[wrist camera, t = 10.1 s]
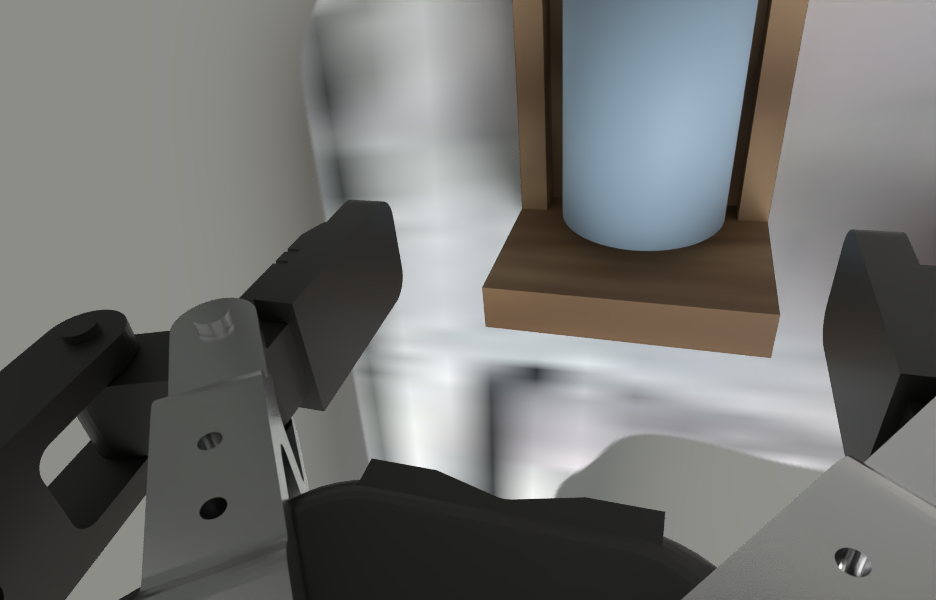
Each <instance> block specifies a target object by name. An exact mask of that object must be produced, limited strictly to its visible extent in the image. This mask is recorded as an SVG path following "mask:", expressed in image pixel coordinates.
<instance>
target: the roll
mask: <svg viewBox="0 0 936 600" xmlns="http://www.w3.org/2000/svg"><path fill="white" fill-rule="evenodd" d="M757 6H758V0H563V218H564V221H565V222H566V224H567V225H568V227H569V228H570V229H571V230H573V231H574V232H575V233H577V234H578V235H580V236H582V237H583V238H585V239H588V240H590V241H592V242H595V243H598V244H601V245H605V246H609V247H613V248H619V249H626V250H635V251H661V250H671V249H677V248H682V247H687V246H691V245H694V244H697V243H699V242H702V241H704V240H706V239H708V238H710V237H711V236H713V235H714V234H715V233H717V232H718V231H719V230H720V228H721V227H722V226H723V223H724V220H725V214H726V207H727V201H728V194H729V188H730V181H731V175H732V168H733V162H734V155H735V149H736V142H737V136H738V129H739V123H740V116H741V110H742V103H743V97H744V90H745V84H746V77H747V71H748V64H749V58H750V51H751V45H752V38H753V32H754V25H755V19H756V12H757Z"/></svg>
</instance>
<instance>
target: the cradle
mask: <svg viewBox="0 0 936 600" xmlns="http://www.w3.org/2000/svg"><path fill="white" fill-rule="evenodd" d="M808 1H809V0H758V6H757V12H756V19H755V25H754V32H753V38H752V45H751V51H750V58H749V64H748V71H747V77H746V84H745V90H744V97H743V103H742V110H741V116H740V123H739V129H738V136H737V142H736V149H735V155H734V162H733V168H732V175H731V181H730V188H729V194H728V201H727V207H726V214H725V220H724V223H723V226H722V227H721V228H720V230H719V231H718V232H717V233H715V234H714V235H713V236H711V237H710V238H708V239H706V240H704V241H702V242H699V243H697V244H694V245H691V246H687V247H682V248H677V249H671V250H661V251H635V250H626V249H619V248H613V247H609V246H605V245H601V244H598V243H595V242H592V241H590V240H588V239H585V238H583V237H582V236H580V235H578V234H577V233H575V232H574V231H573V230H571V229H570V228H569V227H568V225H567V224H566V222H565V221H564V218H563V0H513V19H514V41H515V62H516V84H517V105H518V127H519V149H520V170H521V192H522V210H521V212H520V214H519V216H518V218H517V220H516V222H515V224H514V226H513V228H512V230H511V232H510V234H509V236H508V238H507V240H506V242H505V244H504V246H503V248H502V250H501V252H500V254H499V256H498V257H497V259H496V261H495V263H494V265H493V267H492V269H491V271H490V273H489V275H488V277H487V279H486V281H485V283H484V285H483V287H482V291H483V302H484V313H485V324H486V327H494V328H503V329H512V330H521V331H530V332H539V333H548V334H557V335H566V336H575V337H585V338H594V339H603V340H612V341H621V342H630V343H639V344H648V345H657V346H666V347H675V348H685V349H694V350H703V351H712V352H721V353H730V354H739V355H748V356H757V357H766V358H771V355H772V350H773V345H774V341H775V336H776V331H777V327H778V322H779V317H780V311H779V304H778V296H777V289H776V281H775V274H774V266H773V259H772V251H771V244H770V236H769V229H768V217H769V212H770V207H771V201H772V196H773V190H774V185H775V180H776V174H777V169H778V163H779V158H780V153H781V147H782V142H783V136H784V131H785V126H786V120H787V115H788V109H789V104H790V98H791V93H792V88H793V82H794V77H795V71H796V66H797V61H798V55H799V50H800V44H801V39H802V34H803V28H804V23H805V17H806V12H807V7H808Z"/></svg>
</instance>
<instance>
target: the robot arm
mask: <svg viewBox="0 0 936 600" xmlns="http://www.w3.org/2000/svg"><path fill="white" fill-rule="evenodd" d="M402 280H403V273H402V265H401V260H400V254H399V248H398V243H397V237H396V231H395V226H394V220H393V215H392V211H391V208H390V206H389V205H388V204H387V203H386V202H382V201H364V200H348V201H347V202H345V203H344V204H343V205H342V206H341V208H340V209H339V210H338V211H337V212H336V213H335V214H334V215H333V216H332V217H331V218H330V219H329V220H328V221H327V222H324V223H322V224H320V225H318V226H316V227H314V228H313V229H311V230H309V231H307V232H306V233H304V234H302V235H301V236H300V237H299V238H298V239H297V240H296V241H295V242H294V243H293V244H292V245H291V246H290V247H289V248H288V252H284V253H283V254H282V255H281V256H280V257H279V258H278V259H277V260H276V264H272V265H271V266H270V267H269V268H268V269H267V270H266V272H265V273H263V274H262V275H261V276H260V277H259V278H258V280H257V281H256V282H255V283H253V285H252V286H251V287H250V288H249V289H248V290H247V291H246V292H245V293H244V294H243V295H242V296H241V297H240V298H221V299H216V300H211V301H208V302H205V303H202V304H200V305H197V306H195V307H194V308H191V309H190V310H188V311H187V312H185V313H184V314H182V315H181V316H180V317H179V318H178V319H177V320H176V321H175V322H174V324H173V325H172V327H171V329H170V331H164V332H154V333H144V334H135V335H134V333H133V331H132V329H131V327H130V325H129V323H128V321H127V319H126V317H125V315H124V314H122V313H120V312H118V311H115V310H97V311H91V312H87V313H83V314H80V315H77V316H74V317H72V318H70V319H67V320H65V321H63V322H62V323H60V324H58V325H56V326H55V327H53V328H52V329H51V330H50V331H48V332H47V333H46V334H44V335H43V336H42V337H41V338H40V339H38V340H37V341H36V342H35V343H34V344H32V345H31V346H30V347H29V348H28V349H27V350H25V351H24V352H23V353H22V354H20V355H19V356H18V357H17V358H16V359H14V360H13V361H12V362H11V363H10V364H8V365H7V366H6V367H5V368H4V369H2V370H1V371H0V600H65V599H66V598H67V597H68V595H69V594H70V593H71V591H72V590H73V589H74V587H75V586H76V585H77V584H78V582H79V581H80V580H81V578H82V577H83V576H84V574H85V573H86V572H87V571H88V569H89V568H90V567H91V565H92V564H93V563H94V561H95V560H96V559H97V558H98V556H99V555H100V553H101V552H102V551H103V550H104V548H105V547H106V546H107V545H108V543H109V542H110V540H111V539H112V538H113V537H114V535H115V534H116V533H117V532H118V530H119V529H120V528H121V526H122V525H123V523H124V522H125V521H126V520H127V518H128V517H129V516H130V514H131V513H132V512H133V511H134V509H135V508H136V507H137V505H138V504H139V503H140V502H141V500H142V499H143V497H144V496H145V495H146V508H145V526H144V546H143V563H142V581H141V587H140V588H138V589H136V590H134V591H133V592H131V593H130V594H128V595H126V596H124V597H123V598H121V599H119V600H936V266H930V265H920V264H919V262H918V260H917V257H916V255H915V253H914V251H913V248H912V246H911V244H910V242H909V239H908V237H907V235H906V234H905V233H903V232H886V231H869V230H850V231H849V232H848V233H847V235H846V238H845V240H844V243H843V247H842V251H841V254H840V258H839V262H838V266H837V269H836V273H835V277H834V281H833V284H832V288H831V292H830V296H829V299H828V303H827V307H826V311H825V316H824V324H823V346H824V351H825V356H826V361H827V366H828V372H829V377H830V382H831V387H832V392H833V397H834V402H835V407H836V412H837V418H838V423H839V428H840V433H841V438H842V443H843V448H844V453H845V457H843V458H842V459H840V460H839V461H837V462H836V463H835V464H834V465H833V466H831V467H830V468H829V469H828V470H827V471H826V472H825V473H824V474H822V475H821V476H820V477H819V478H818V479H817V480H816V481H815V482H813V483H812V484H811V485H810V486H809V487H808V488H807V489H806V490H804V491H803V492H802V493H801V494H800V495H799V496H798V497H796V498H795V499H794V500H793V501H792V502H791V503H790V504H789V505H788V506H786V507H785V508H784V509H783V510H782V511H781V512H780V513H778V514H777V515H776V516H775V517H774V518H773V519H772V520H771V521H769V522H768V523H767V524H766V525H765V526H764V527H763V528H762V529H760V530H759V531H758V532H757V533H756V534H755V535H754V536H752V537H751V538H750V539H749V540H748V541H747V542H746V543H745V544H743V546H741V547H740V548H739V549H738V550H737V551H736V552H734V553H733V554H732V555H731V556H730V557H729V558H728V559H727V560H725V562H723V563H722V564H721V565H720V566H719V567H718V568H717V567H716V566H714V565H713V564H712V563H710V562H709V561H707V560H706V559H704V558H703V557H701V556H700V555H699V554H697V553H695V552H693V551H692V550H690V549H688V548H686V547H685V546H683V545H681V544H679V543H677V542H675V541H673V540H670V539H668V538H666V537H663V531H664V519H665V512H663V511H657V510H652V509H646V508H641V507H635V506H630V505H624V504H619V503H613V502H608V501H602V500H597V499H591V498H586V497H584V498H550V499H517V500H509V499H502V498H499V497H496V496H494V495H491V494H489V493H487V492H485V491H482V490H480V489H478V488H475V487H473V486H471V485H469V484H466V483H464V482H462V481H460V480H457V479H455V478H453V477H451V476H448V475H446V474H444V473H442V472H439V471H437V470H432V469H427V468H421V467H416V466H410V465H405V464H399V463H394V462H388V461H383V460H377V459H371V461H370V463H369V465H368V466H367V468H366V470H365V472H364V474H363V476H362V478H361V479H360V480H351V481H345V482H339V483H333V484H329V485H325V486H321V487H319V488H316V489H313V490H310V491H309V487H308V482H307V477H306V473H305V468H304V463H303V458H302V453H301V448H300V445H299V439H298V434H297V429H296V426H295V423H294V420H293V417H292V416H293V414H294V413H295V412H296V410H297V409H298V407H302V408H308V409H314V410H320V411H325V409H326V408H327V406H328V405H329V403H330V402H331V400H332V399H333V397H334V396H335V394H336V393H337V391H338V390H339V388H340V387H341V385H342V384H343V382H344V381H345V379H346V377H347V376H348V374H349V373H350V371H351V370H352V368H353V367H354V365H355V364H356V362H357V361H358V359H359V358H360V356H361V355H362V353H363V352H364V350H365V349H366V347H367V346H368V344H369V343H370V341H371V340H372V338H373V337H374V335H375V334H376V332H377V331H378V329H379V327H380V326H381V324H382V323H383V321H384V320H385V318H386V317H387V315H388V314H389V312H390V311H391V309H392V308H393V306H394V305H395V303H396V302H397V300H398V298H399V295H400V292H401V288H402ZM76 417H78V419H79V421H80V422H81V424H82V426H83V427H84V429H85V431H86V432H87V434H88V436H89V438H90V439H91V440H90V441H89V443H88V444H87V445H86V446H85V447H84V448H83V449H82V450H81V451H80V452H79V453H78V454H77V455H76V457H75V458H74V459H73V460H72V461H71V462H70V463H69V465H67V466H66V467H65V469H64V470H63V471H62V472H61V473H60V474H59V475H58V476H57V477H56V478H55V479H54V481H53V482H52V483H51V484H50V485H49V486H48V487H47V486H46V485H45V483H44V482H43V480H42V479H41V476H40V472H39V465H40V460H41V457H42V454H43V452H44V450H45V449H46V448H47V446H48V445H49V444H50V443H51V442H52V441H53V440H54V439H55V438H56V437H57V436H58V435H59V434H60V433H61V432H62V431H63V430H64V429H65V428H66V427H67V426H68V425H69V424H70V423H71V421H72V420H74V419H75V418H76Z"/></svg>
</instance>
